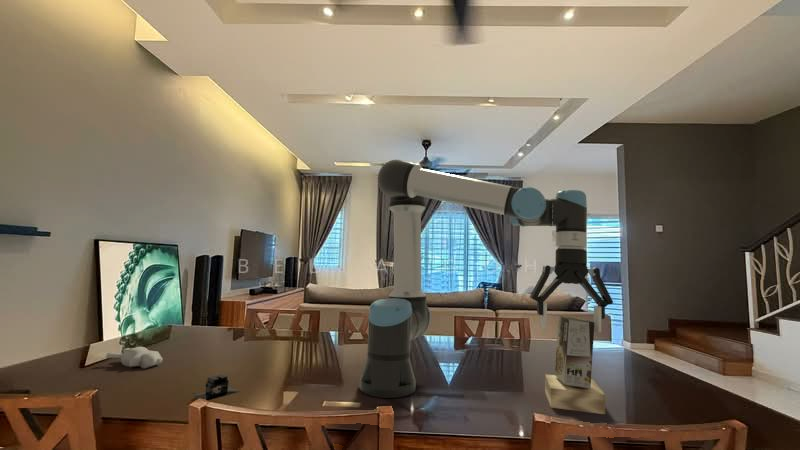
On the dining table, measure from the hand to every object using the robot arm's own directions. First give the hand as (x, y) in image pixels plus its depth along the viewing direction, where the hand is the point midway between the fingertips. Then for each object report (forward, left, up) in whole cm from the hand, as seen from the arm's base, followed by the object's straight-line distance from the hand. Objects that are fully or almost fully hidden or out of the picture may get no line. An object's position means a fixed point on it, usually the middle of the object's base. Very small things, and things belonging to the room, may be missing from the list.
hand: (570, 329), depth 96 cm
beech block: (0, 0, -19) cm, 18 cm away
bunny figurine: (-126, +7, -18) cm, 128 cm away
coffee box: (0, 0, -13) cm, 13 cm away
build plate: (-89, -11, -19) cm, 92 cm away
